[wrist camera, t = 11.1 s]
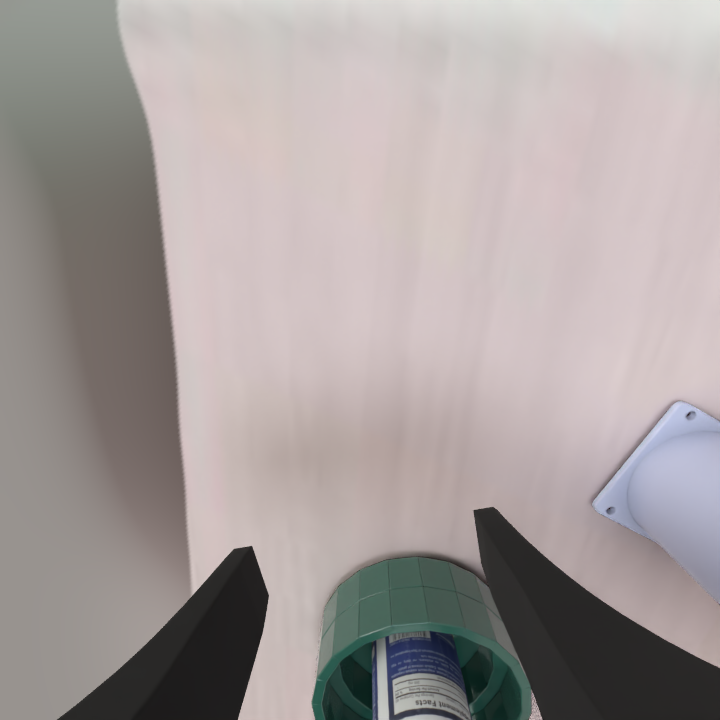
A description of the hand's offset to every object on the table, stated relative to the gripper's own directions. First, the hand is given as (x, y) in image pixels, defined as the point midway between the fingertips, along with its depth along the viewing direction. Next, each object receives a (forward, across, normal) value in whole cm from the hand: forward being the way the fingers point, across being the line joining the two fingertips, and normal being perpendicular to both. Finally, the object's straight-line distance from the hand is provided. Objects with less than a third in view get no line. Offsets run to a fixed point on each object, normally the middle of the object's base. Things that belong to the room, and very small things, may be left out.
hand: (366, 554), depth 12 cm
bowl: (+10, 0, +16) cm, 19 cm away
